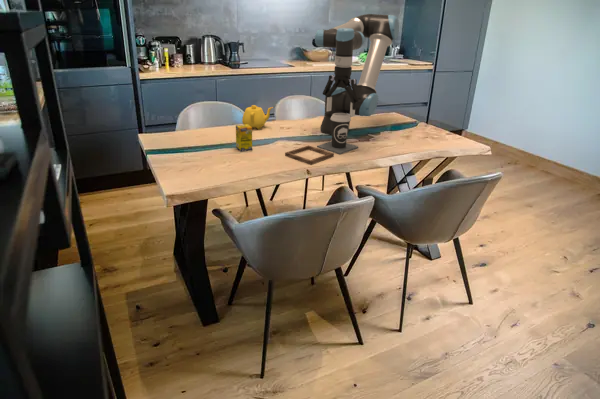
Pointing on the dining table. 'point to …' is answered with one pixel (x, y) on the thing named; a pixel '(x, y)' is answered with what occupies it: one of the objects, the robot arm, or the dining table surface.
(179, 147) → the dining table surface
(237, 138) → the supplement box
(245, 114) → the teapot
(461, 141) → the dining table surface
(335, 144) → the coffee cup
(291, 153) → the frame
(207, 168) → the dining table surface
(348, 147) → the coaster
